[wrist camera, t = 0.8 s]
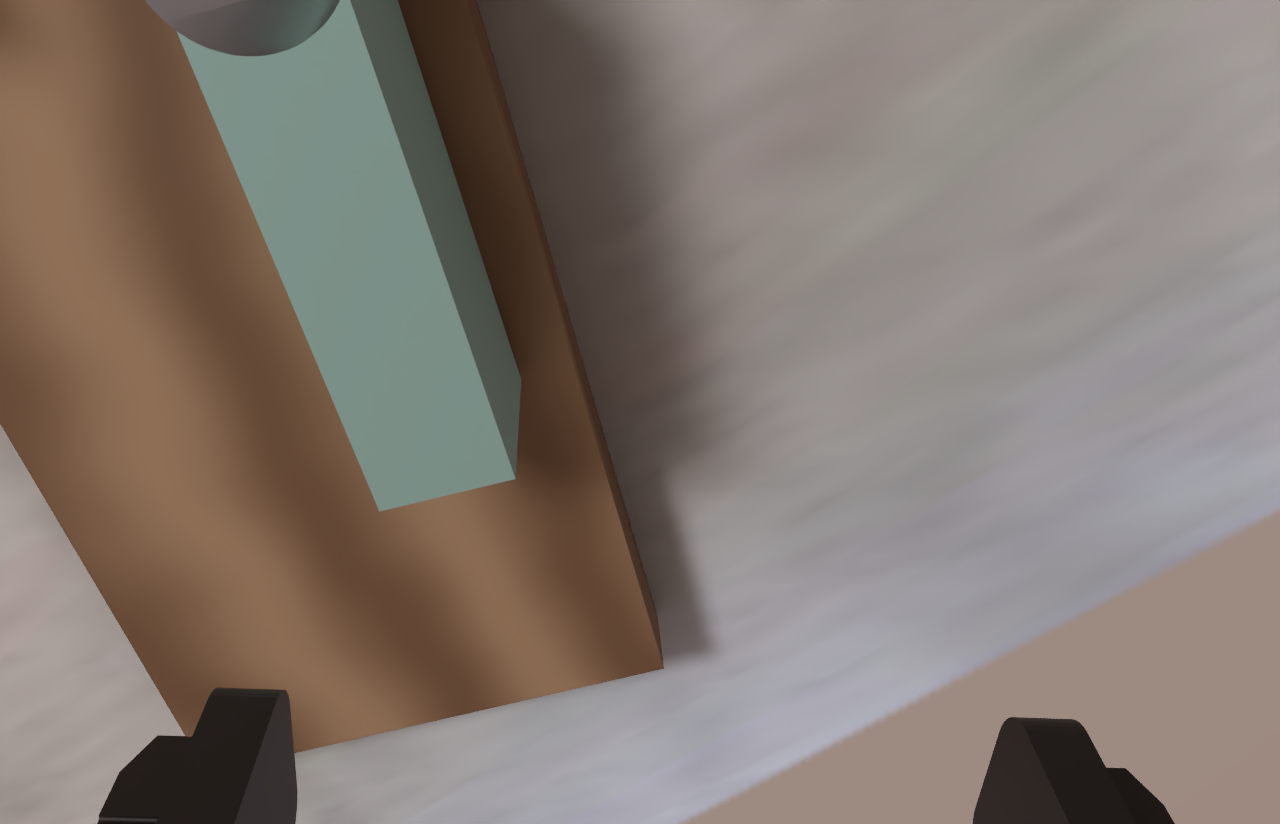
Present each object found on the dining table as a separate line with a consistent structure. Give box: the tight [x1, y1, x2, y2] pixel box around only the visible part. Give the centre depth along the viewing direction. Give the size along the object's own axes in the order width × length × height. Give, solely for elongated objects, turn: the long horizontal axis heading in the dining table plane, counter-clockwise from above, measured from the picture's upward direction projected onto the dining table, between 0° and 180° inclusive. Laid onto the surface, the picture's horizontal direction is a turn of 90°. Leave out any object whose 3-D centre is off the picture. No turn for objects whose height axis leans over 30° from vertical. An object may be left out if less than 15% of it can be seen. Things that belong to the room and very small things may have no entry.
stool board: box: [0, 0, 664, 753], centre depth 28 cm, size 15×27×8 cm, turn 14°
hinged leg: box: [145, 0, 521, 512], centre depth 24 cm, size 14×4×5 cm, turn 14°
